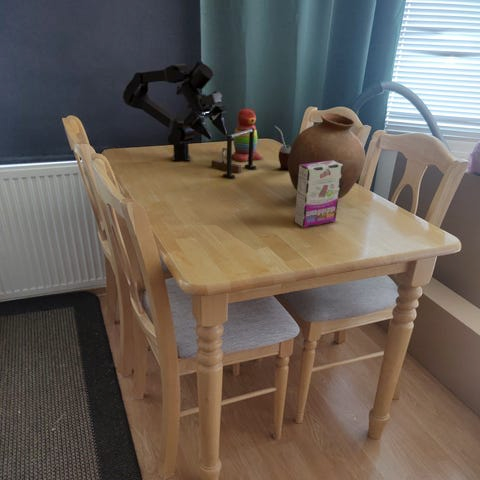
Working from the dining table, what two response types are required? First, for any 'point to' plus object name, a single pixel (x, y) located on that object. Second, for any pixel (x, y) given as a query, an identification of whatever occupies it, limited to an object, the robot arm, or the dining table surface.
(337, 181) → the candy bar box
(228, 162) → the clothes rail
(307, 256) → the dining table surface
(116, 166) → the dining table surface
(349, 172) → the pottery
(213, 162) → the hanger
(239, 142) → the stacking bear
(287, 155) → the mate gourd
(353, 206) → the dining table surface
